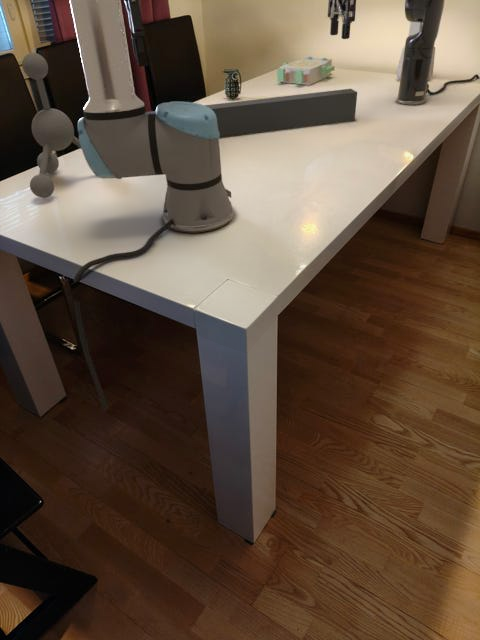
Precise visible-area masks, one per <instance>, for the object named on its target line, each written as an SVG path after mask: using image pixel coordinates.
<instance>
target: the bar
mask: <svg viewBox="0 0 480 640" xmlns="http://www.w3.org/2000/svg"><path fill="white" fill-rule="evenodd" d="M357 101H358V91H356V90H354V89H352V88H343V89H337V90H328V91H327V90H326V91H319V92H310V93H309V92H308V93H299V94H291V95H283V96H282V95H281V96H275V97H265V98H257V99H248V100H240V101H239V100H238V101H230V102H222V103H221V102H220V103H212V104H203V105H204V106H206V107H209V108H210V109H211V110H213V111H214V113H215V114H216V117H217V124H218V131H219V133H220V136H219V139H220V138H221V139H222V138H228V137H236V136H244V135H245V136H246V135H252V134H253V135H254V134H260V133H268V132H276V131H277V132H278V131H284V130H293V129H301V128H307V127H317V126H323V125H332V124H339V123H348V122H349V123H350V122H355V121H356V113H357V112H356V110H357ZM155 111H156V110H154V111H153V110H151V111H146V114H152V113H156V112H155Z"/></svg>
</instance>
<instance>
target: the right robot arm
mask: <svg viewBox="0 0 480 640" xmlns="http://www.w3.org/2000/svg"><path fill="white" fill-rule="evenodd" d="M444 7H445V0H405V2H404V15H405V19H406V20H407V21H408V22H409V23H410V22H417V23H422V28H421V30H420V31H419V32H418V33H416V34H414V35H410V36H409V35H408V36H407V37H406V38H405V44H404V46H405V50H404V57H403V64H402V71H401V79H400V80H399V85H398V94H397V98H396V102H397V103H399V104H401V105H408V106H414V105H421V104H424V103H425V102H426V95H427V94H428V95H430V96H434V95H438V94H440V93H441V92H442V91H444V90H446V89H447V88H446V87H447V85H451V84H463V83H470V82H473V81H474V80H475V79H477V80H478V79H480V76H479V74H474V75H473V76H472V77H471V78H467V79H459V80H458V79H457V80H449V81H446V82H444V83H443V86H442V87H441V88H439V89H438V90H436V91H431V90H430V89H429V88H430V83H429V80H428V79H429V73H430V67H431V61H432V55H433V50H434V47H435V44H436V40H437V38H438V34H439V29H440V25H441V20H442V16H443V11H444ZM356 8H357V0H328V6H327V18H329V21H330V31H329V34H330V36H337V35H338V34H339V23H340V21H339V19H340V18H341V23H342V25H341V36H340V37H341V39H342V40H348V39H350V34H351V24H352V23H353V22H355V20H356V11H357V10H356Z"/></svg>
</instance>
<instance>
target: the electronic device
mask: <svg viewBox="0 0 480 640" xmlns="http://www.w3.org/2000/svg"><path fill="white" fill-rule="evenodd" d="M422 24H423V23H417V22H409V30H408V36H410V35H414V34H416V33H418V32H419V31H420V30H421V28H422ZM404 50H405V45H404V46H403V48H402V50H401V54H400V58H399V61H398V64H397V68H396V78H397V79H398V81H400V79H401V71H402V64H403V57H404ZM435 56H436V47H435V46H434V50H433V55H432V61H431V67H430V73H429V79H428V81H430V80H431V79H432V78H433V76H434V66H435Z"/></svg>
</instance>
